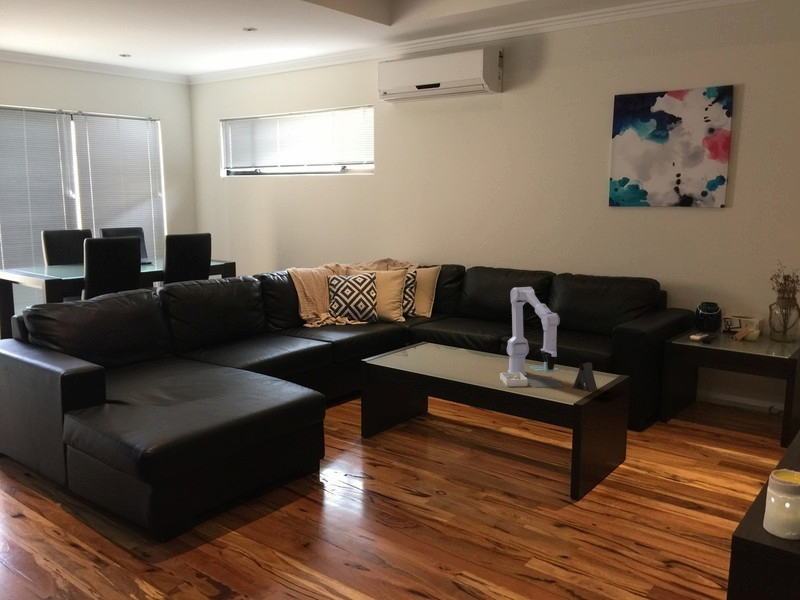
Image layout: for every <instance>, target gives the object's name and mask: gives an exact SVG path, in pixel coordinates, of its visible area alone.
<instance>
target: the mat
mask: <svg viewBox="0 0 800 600" xmlns="http://www.w3.org/2000/svg"><path fill="white" fill-rule="evenodd" d="M525 377H526V378H527V379H528V382H529V383H530V384H531V385H533V387H535V388H536V389H538V388H541V389H542V388H563V387H564V385H562V384H561V383H560V382H559V381H557V380H556V379H555V378H554V377H553V376H549V375H548V376H525Z"/></svg>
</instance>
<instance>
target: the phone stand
mask: <svg viewBox="0 0 800 600" xmlns="http://www.w3.org/2000/svg"><path fill="white" fill-rule="evenodd" d="M578 368H579V370H578V373H577V374H576V378H575V380H574V384H573V385H572V388H573V389H575V390H579V391H583V392H587V391H588V393H591V392H593V390H594V391H596V390H595V389H597V390H598V386H597V383H596V380H595V376H594V371H593V363H592V362H589V361H588V362H584V363H581V364H579V366H578ZM590 391H591V392H590Z"/></svg>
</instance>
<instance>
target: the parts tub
mask: <svg viewBox="0 0 800 600" xmlns="http://www.w3.org/2000/svg"><path fill="white" fill-rule="evenodd" d="M526 377H527V376H526V375H523V374H522V373H521V372H518V373H509V372H500V373H499V379H500V381H501V382H502V384H503V385H504V386H505V387H528V382H529V381H528V379H527V378H526Z"/></svg>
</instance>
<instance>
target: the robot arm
mask: <svg viewBox="0 0 800 600" xmlns="http://www.w3.org/2000/svg"><path fill="white" fill-rule="evenodd" d="M526 303H529V304H530V305H531V306H532V307H533V308H534V312H535V314H536V315H537V316H538V317H539V318H540V319H541V320H540V321H541V324H542V329H543V346H542V348H540V351H541V355H542V358H543V361H544V362H547V366H548V370H553V368H554V367H555V364H556V361H557V359H558V357H559V356H558V354H557V353H558V352H557V336H558V335H557V329H558V328H557V327H558V326H559V325H560V321H561V319H560V316H559V315H558V313H557V312H552V311H551V309H550V308H549V307H548V306H547V304H546V303H542V302H540V300H539V299H538V297H537V296H536V294H535V289H533V287H532V286H525V287H524V286H522V287H520V286H519V287H516V286H515V287H513V288H512V289H511V290H510V304H511V315H512V316H511V318H512V319H511V320H512V321H511V323H512V324H511V325H512V326H511V328H512V337H511V338H509V340H507V347H506V353H507V354H508V356H509V359H508V369H507V373H518V372H521V373H522V374H523V375H524V376H528V373H526V372H525V370H526V365H525V364H526V357H527V355H528V354H529V350H530V347H529V343H528V339H526V338H525V336H524V309H523V306H524V305H525V304H526ZM544 362H543V363H544Z"/></svg>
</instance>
